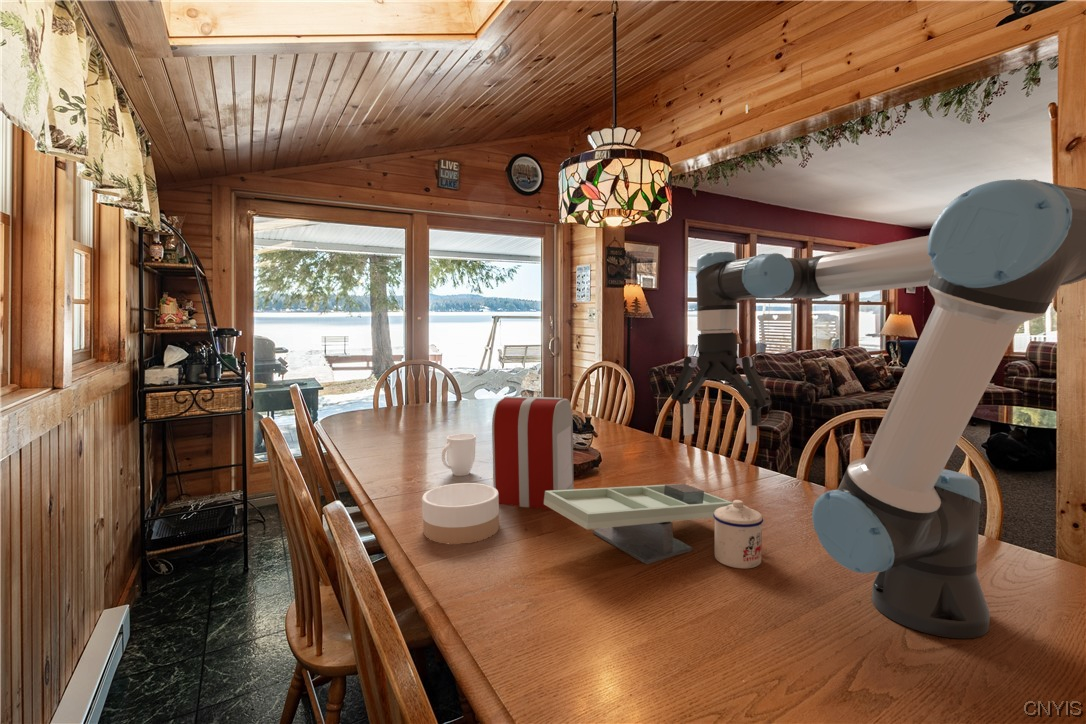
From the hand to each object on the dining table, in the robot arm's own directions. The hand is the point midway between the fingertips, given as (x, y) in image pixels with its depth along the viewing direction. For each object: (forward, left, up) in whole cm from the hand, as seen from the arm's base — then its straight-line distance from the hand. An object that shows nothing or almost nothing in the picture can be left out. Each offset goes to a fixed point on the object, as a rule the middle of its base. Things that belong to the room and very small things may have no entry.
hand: (718, 438), depth 108 cm
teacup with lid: (-5, -1, -23) cm, 24 cm away
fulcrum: (+11, +11, -23) cm, 28 cm away
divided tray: (+11, +11, -16) cm, 22 cm away
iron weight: (+11, -1, -17) cm, 20 cm away
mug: (+80, +26, -23) cm, 88 cm away
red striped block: (+49, +16, -23) cm, 57 cm away
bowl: (+38, +41, -23) cm, 61 cm away
